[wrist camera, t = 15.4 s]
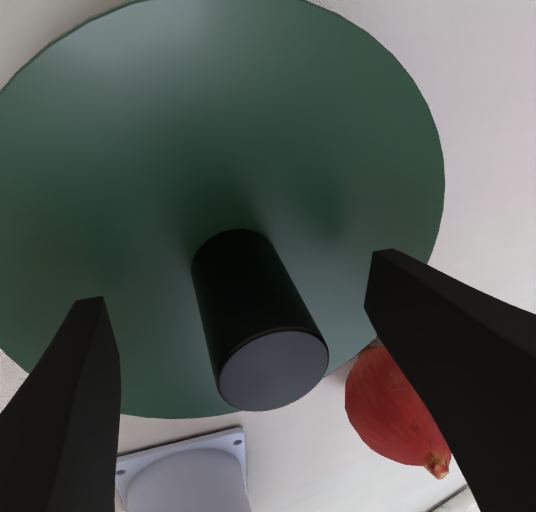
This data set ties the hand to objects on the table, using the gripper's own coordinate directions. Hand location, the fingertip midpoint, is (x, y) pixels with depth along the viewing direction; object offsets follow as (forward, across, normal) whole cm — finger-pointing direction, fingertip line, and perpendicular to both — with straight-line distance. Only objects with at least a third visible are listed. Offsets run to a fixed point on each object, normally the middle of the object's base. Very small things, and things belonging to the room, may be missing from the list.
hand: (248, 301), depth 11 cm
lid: (+2, 0, 0) cm, 2 cm away
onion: (+7, -9, +12) cm, 17 cm away
